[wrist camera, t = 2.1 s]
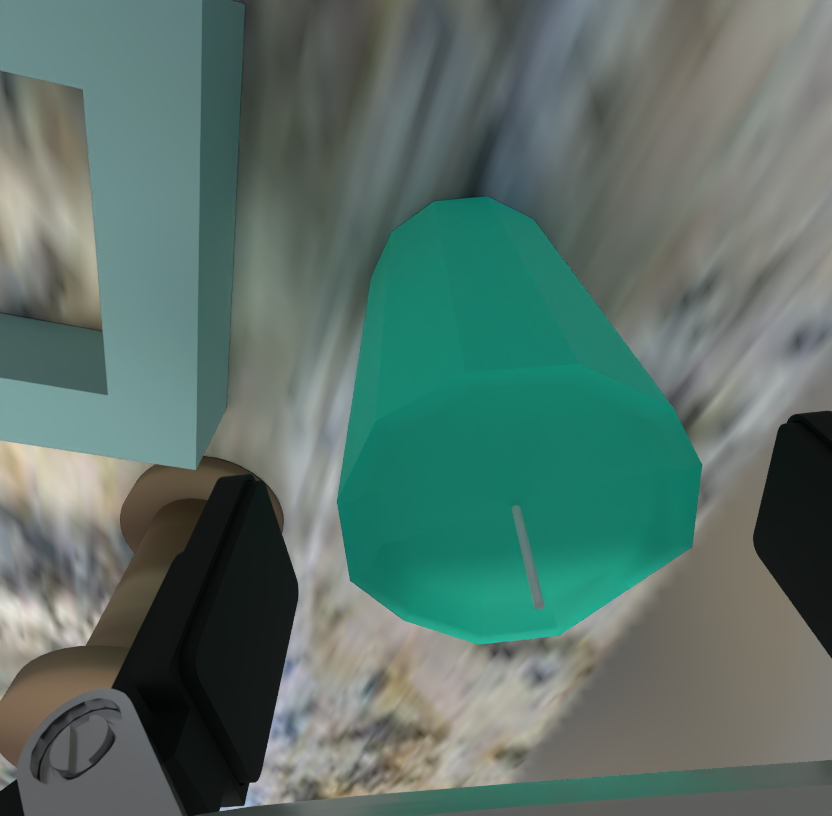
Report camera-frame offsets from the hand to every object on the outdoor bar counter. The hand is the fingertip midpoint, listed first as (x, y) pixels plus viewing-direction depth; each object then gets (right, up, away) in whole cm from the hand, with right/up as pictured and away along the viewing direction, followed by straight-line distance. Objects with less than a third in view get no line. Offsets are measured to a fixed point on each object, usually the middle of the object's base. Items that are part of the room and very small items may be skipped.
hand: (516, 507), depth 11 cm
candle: (0, +6, +8) cm, 9 cm away
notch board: (-12, +8, +6) cm, 15 cm away
